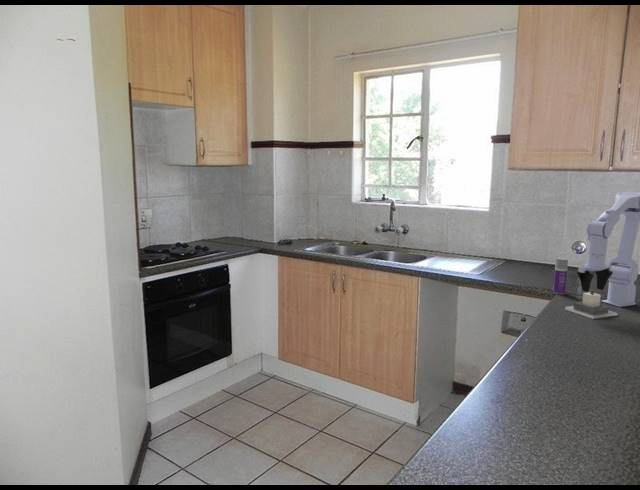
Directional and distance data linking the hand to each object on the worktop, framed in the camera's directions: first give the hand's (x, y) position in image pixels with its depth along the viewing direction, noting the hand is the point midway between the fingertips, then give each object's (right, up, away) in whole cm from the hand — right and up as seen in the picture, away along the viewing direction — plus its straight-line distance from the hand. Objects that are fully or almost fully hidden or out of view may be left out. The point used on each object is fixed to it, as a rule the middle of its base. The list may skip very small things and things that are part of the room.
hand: (592, 290), depth 173 cm
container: (+2, -4, +29) cm, 29 cm away
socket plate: (0, -8, +1) cm, 9 cm away
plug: (0, -7, +1) cm, 8 cm away
